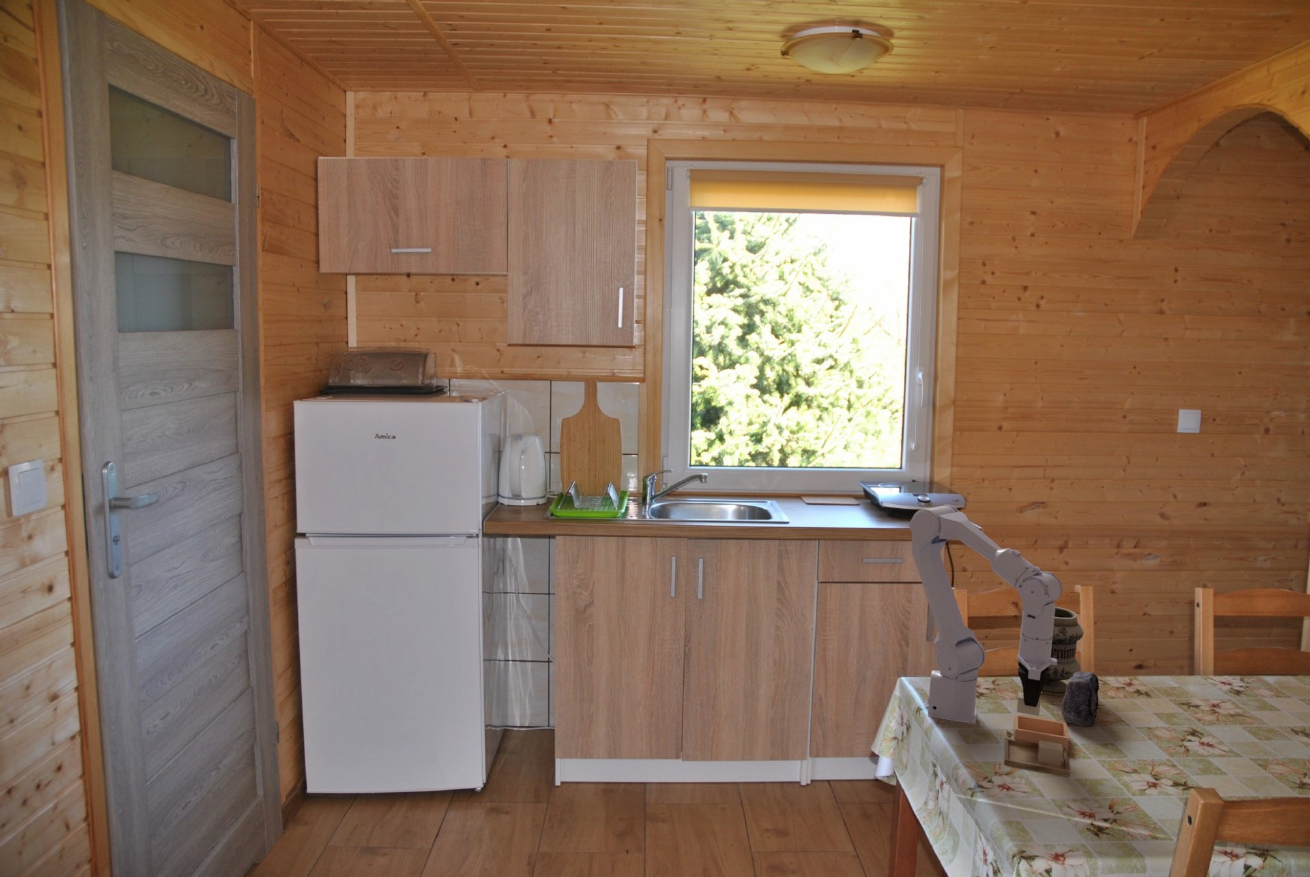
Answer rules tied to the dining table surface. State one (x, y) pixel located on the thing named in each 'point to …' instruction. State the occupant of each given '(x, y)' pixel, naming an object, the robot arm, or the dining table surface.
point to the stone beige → (1050, 753)
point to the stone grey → (1027, 709)
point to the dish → (1040, 730)
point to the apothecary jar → (1063, 651)
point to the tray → (1031, 757)
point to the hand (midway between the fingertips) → (1030, 702)
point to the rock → (1081, 699)
